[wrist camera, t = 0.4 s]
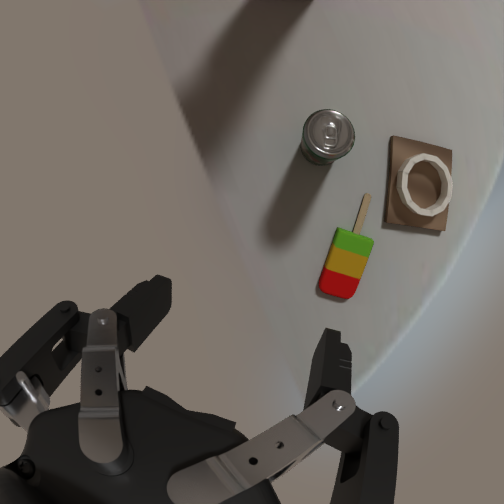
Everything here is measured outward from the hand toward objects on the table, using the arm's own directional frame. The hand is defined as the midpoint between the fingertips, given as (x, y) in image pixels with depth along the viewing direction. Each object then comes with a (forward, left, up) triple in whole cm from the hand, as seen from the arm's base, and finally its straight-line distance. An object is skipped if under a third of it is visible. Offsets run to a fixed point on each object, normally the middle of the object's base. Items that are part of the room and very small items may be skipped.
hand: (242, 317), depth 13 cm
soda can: (-11, +5, -26) cm, 29 cm away
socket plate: (-8, +20, -26) cm, 34 cm away
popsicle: (+1, +10, -26) cm, 28 cm away
